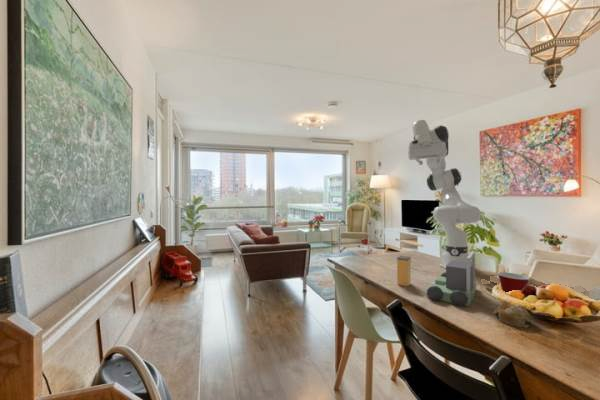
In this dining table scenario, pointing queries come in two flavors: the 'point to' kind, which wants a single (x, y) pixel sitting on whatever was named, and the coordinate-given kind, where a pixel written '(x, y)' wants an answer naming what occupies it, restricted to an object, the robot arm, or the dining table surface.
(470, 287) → the green wheeled cart
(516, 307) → the grey brown rounded lump
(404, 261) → the orange tall cylinder
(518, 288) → the plastic cup
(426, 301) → the dining table surface
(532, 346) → the dining table surface
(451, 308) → the dining table surface
